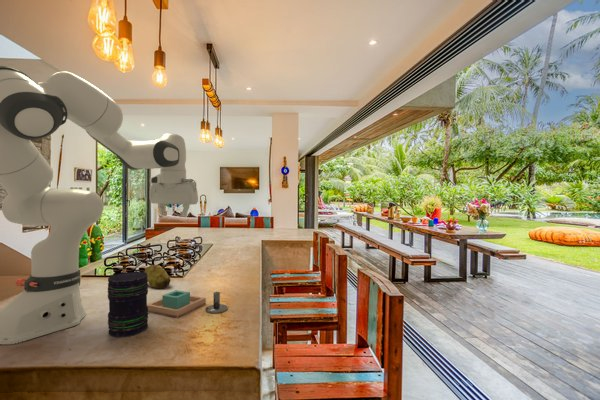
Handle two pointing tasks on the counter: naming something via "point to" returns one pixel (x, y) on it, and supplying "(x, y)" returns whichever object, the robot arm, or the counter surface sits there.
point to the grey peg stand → (216, 305)
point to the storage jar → (127, 304)
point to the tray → (158, 309)
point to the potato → (157, 276)
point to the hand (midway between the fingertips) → (173, 216)
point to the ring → (176, 299)
